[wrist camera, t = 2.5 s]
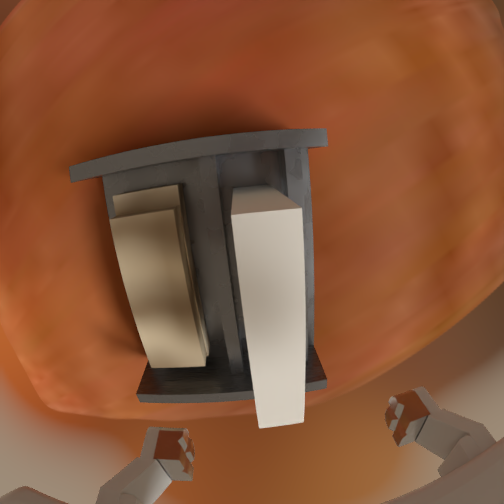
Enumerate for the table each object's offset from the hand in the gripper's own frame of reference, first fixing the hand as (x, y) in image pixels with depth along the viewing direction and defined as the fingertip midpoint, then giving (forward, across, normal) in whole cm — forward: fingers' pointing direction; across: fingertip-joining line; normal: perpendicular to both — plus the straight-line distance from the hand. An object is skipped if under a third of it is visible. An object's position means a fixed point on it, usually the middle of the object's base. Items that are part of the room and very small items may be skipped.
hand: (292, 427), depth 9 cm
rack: (+19, +4, 0) cm, 19 cm away
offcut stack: (+17, +8, 0) cm, 19 cm away
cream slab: (+17, 0, 0) cm, 17 cm away
